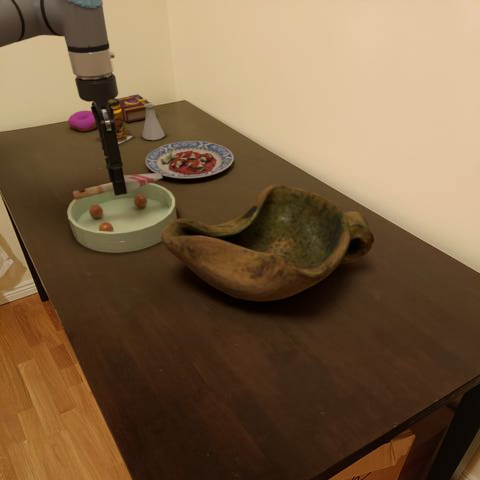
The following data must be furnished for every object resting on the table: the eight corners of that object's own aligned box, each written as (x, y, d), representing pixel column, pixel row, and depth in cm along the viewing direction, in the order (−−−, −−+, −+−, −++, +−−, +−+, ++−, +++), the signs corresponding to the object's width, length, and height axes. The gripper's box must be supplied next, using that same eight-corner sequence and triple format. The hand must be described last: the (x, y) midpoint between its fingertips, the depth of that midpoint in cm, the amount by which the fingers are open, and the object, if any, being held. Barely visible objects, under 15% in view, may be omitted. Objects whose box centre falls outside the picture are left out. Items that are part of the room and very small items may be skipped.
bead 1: (91, 221, 102) (88, 209, 100) (90, 215, 105) (86, 203, 102) (105, 219, 103) (102, 207, 101) (103, 213, 105) (100, 201, 103)
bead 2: (101, 240, 97) (98, 228, 94) (99, 233, 99) (96, 221, 97) (115, 237, 97) (113, 225, 95) (113, 230, 100) (110, 218, 97)
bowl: (215, 361, 71) (220, 291, 61) (153, 264, 89) (148, 197, 79) (388, 300, 87) (415, 236, 77) (305, 228, 105) (318, 169, 94)
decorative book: (127, 124, 152) (124, 109, 148) (111, 111, 162) (108, 97, 158) (156, 118, 156) (154, 103, 153) (139, 106, 166) (137, 91, 163)
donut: (65, 128, 149) (61, 114, 146) (89, 120, 155) (85, 106, 152) (83, 135, 144) (80, 121, 141) (107, 126, 150) (104, 112, 147)
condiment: (118, 144, 138) (110, 105, 130) (98, 139, 141) (90, 100, 133) (133, 137, 143) (126, 98, 135) (113, 132, 146) (106, 94, 138)
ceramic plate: (248, 157, 131) (248, 147, 129) (205, 192, 115) (204, 182, 113) (178, 142, 140) (177, 133, 138) (128, 173, 123) (126, 163, 121)
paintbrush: (162, 172, 97) (73, 193, 92) (164, 183, 99) (77, 205, 94) (157, 165, 99) (70, 186, 95) (160, 177, 101) (74, 197, 96)
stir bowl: (79, 262, 92) (73, 243, 88) (68, 209, 108) (62, 190, 105) (189, 239, 98) (187, 220, 95) (163, 192, 115) (160, 174, 111)
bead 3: (136, 211, 106) (134, 199, 104) (134, 205, 108) (131, 193, 106) (149, 209, 107) (147, 197, 105) (146, 203, 109) (144, 191, 107)
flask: (154, 131, 147) (150, 99, 140) (169, 136, 144) (165, 104, 137) (138, 137, 143) (133, 105, 136) (152, 142, 140) (148, 110, 133)
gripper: (122, 84, 77) (143, 203, 93) (107, 62, 88) (128, 171, 104) (79, 89, 75) (108, 209, 91) (69, 65, 86) (97, 177, 102)
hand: (119, 189), depth 97 cm, fingers closed on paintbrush, 4 cm apart
